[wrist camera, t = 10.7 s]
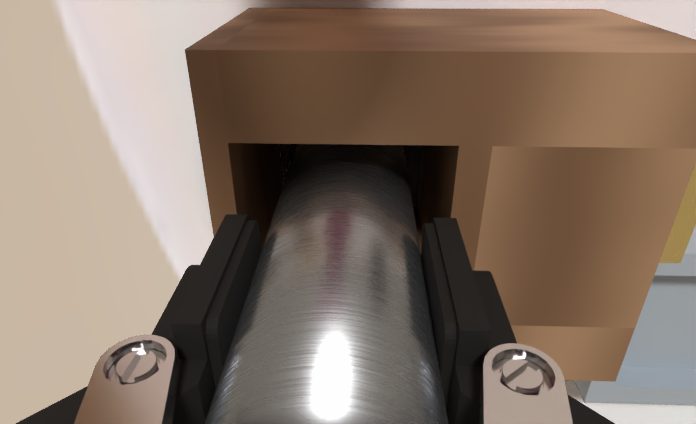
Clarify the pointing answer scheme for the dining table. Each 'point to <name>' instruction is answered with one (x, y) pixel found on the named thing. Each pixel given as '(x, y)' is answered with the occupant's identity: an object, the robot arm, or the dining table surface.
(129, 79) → the dining table surface
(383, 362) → the grey cylinder
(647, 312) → the grey square tray
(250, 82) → the socket block
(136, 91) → the dining table surface
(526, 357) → the robot arm
